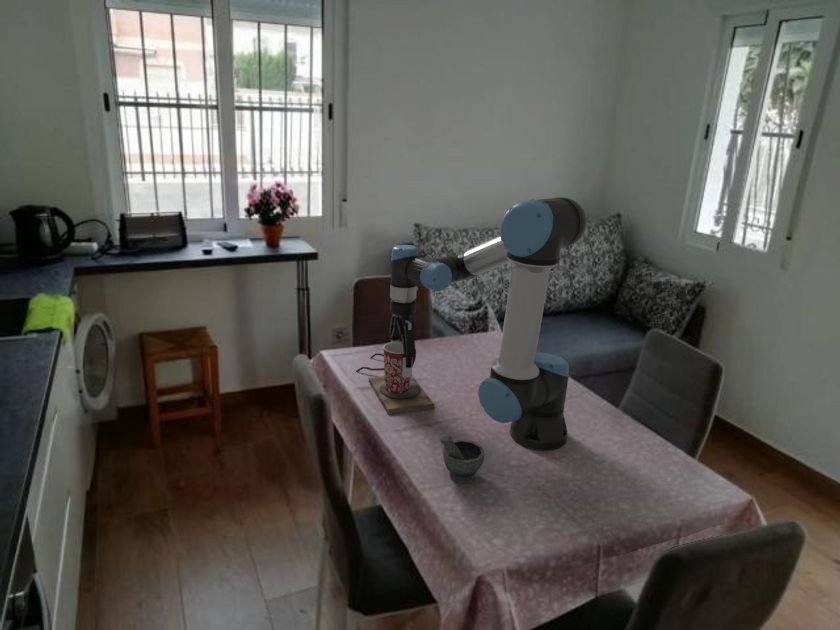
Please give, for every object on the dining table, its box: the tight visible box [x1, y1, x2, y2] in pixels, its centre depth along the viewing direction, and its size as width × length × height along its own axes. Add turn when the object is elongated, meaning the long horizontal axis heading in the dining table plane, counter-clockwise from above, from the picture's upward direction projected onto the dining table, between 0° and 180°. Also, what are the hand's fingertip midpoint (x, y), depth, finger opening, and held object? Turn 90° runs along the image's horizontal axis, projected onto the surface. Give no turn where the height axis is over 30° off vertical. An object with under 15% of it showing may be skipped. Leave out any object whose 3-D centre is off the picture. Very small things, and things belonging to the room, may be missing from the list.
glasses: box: [355, 352, 384, 373], centre depth 202 cm, size 13×13×5 cm
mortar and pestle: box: [439, 433, 486, 484], centre depth 142 cm, size 11×9×12 cm
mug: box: [382, 341, 417, 394], centre depth 181 cm, size 13×9×14 cm
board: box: [368, 375, 435, 415], centre depth 183 cm, size 22×14×2 cm, turn 19°
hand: (400, 368), depth 181 cm, fingers open, 11 cm apart
